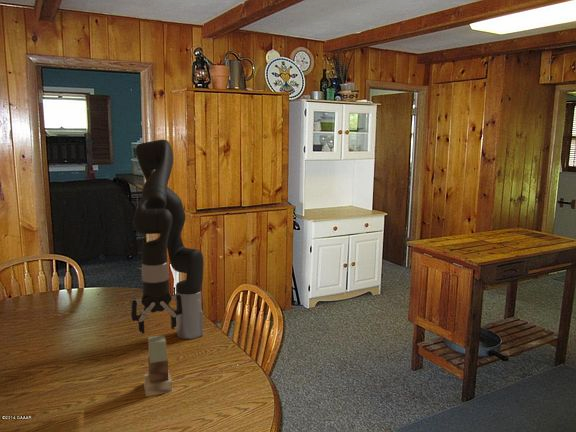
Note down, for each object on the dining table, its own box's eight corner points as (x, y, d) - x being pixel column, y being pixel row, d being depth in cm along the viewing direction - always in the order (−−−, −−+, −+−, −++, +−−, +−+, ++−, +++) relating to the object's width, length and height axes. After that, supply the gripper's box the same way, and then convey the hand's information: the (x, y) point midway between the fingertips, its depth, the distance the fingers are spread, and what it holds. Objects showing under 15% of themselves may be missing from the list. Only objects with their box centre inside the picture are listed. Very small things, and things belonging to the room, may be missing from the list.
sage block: (164, 354, 144) (163, 335, 143) (166, 360, 140) (166, 341, 139) (148, 356, 142) (148, 337, 141) (150, 363, 138) (149, 343, 137)
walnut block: (166, 372, 145) (165, 353, 144) (168, 380, 141) (167, 360, 140) (148, 375, 144) (148, 356, 143) (150, 383, 139) (150, 363, 138)
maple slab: (168, 379, 147) (168, 370, 147) (172, 391, 141) (171, 381, 140) (144, 383, 145) (144, 374, 144) (147, 395, 138) (146, 385, 138)
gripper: (178, 271, 146) (180, 322, 149) (128, 276, 140) (131, 329, 143) (182, 278, 139) (184, 331, 142) (130, 284, 133) (133, 339, 136)
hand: (157, 330), depth 142 cm, fingers open, 8 cm apart
